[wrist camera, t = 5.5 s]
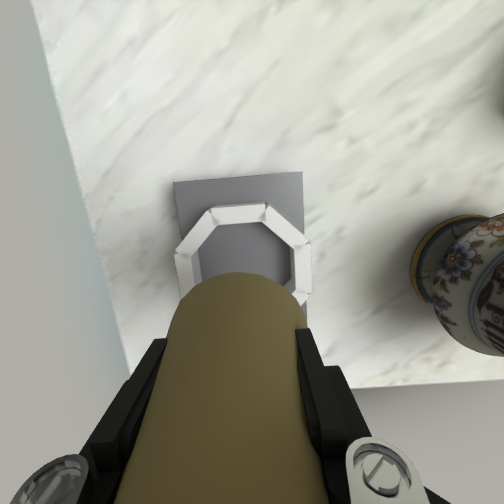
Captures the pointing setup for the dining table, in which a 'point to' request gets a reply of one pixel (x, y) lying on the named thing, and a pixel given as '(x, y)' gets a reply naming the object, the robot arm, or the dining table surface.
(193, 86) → the dining table surface
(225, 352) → the cork
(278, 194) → the octagonal ring stand
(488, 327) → the apothecary jar
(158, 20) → the dining table surface
